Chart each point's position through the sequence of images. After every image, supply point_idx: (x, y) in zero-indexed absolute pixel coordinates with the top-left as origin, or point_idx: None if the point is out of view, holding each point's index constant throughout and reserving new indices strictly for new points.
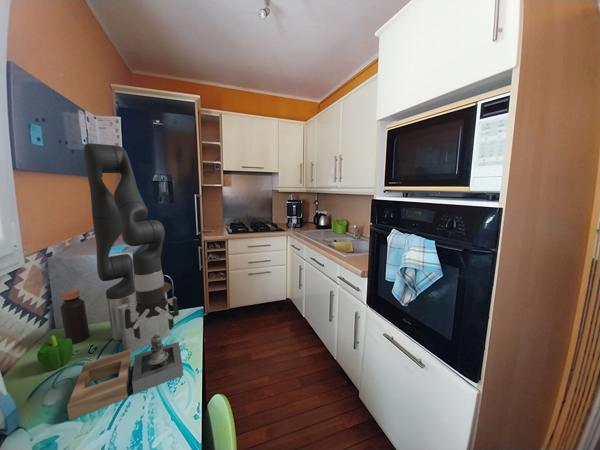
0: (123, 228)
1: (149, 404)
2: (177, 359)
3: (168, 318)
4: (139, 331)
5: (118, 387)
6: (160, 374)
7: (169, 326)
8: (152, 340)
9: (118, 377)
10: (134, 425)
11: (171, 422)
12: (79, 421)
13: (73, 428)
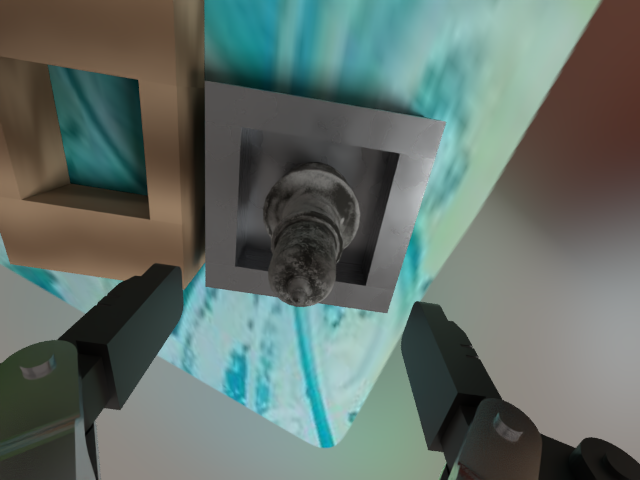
0: None
1: (265, 325)
2: (381, 274)
3: (446, 422)
4: (147, 357)
5: None
6: None
7: (412, 378)
8: (276, 295)
9: (150, 223)
10: (229, 359)
11: (304, 399)
12: None
13: (82, 276)
